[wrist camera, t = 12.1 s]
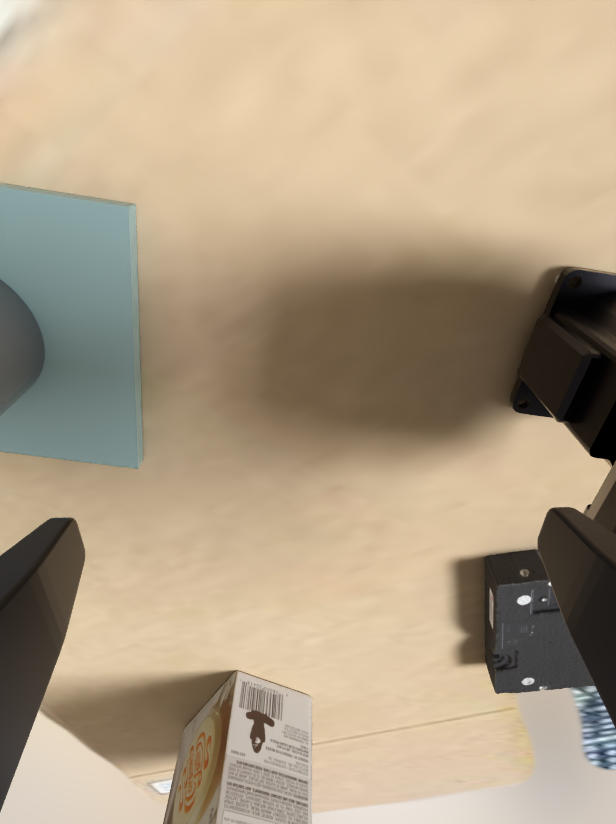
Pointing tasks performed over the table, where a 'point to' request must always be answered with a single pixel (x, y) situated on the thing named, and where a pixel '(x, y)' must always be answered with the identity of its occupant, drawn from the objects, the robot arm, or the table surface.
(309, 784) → the coffee box
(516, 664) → the disk drive
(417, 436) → the table surface
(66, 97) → the table surface
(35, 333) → the grey domed cylinder
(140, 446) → the slate board
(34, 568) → the robot arm
